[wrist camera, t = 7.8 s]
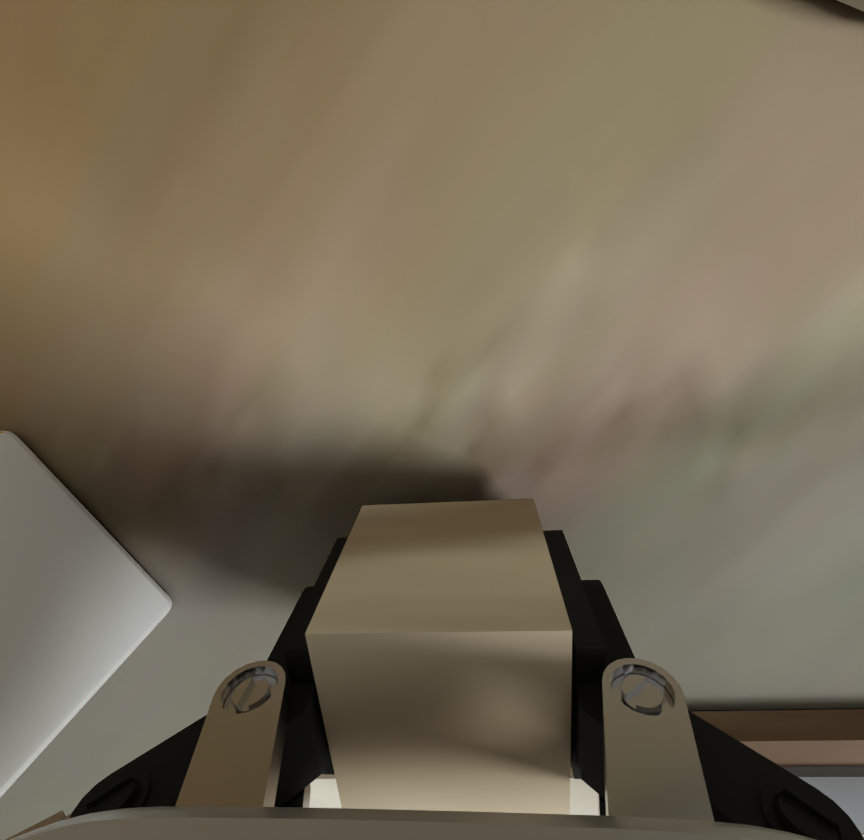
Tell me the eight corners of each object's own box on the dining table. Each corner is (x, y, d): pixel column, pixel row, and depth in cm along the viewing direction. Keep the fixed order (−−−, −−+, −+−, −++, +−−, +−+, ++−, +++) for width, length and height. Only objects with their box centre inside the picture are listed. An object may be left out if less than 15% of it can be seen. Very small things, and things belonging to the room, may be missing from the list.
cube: (362, 505, 12) (304, 633, 8) (533, 498, 12) (572, 630, 7) (382, 640, 13) (342, 812, 9) (535, 638, 13) (569, 817, 9)
